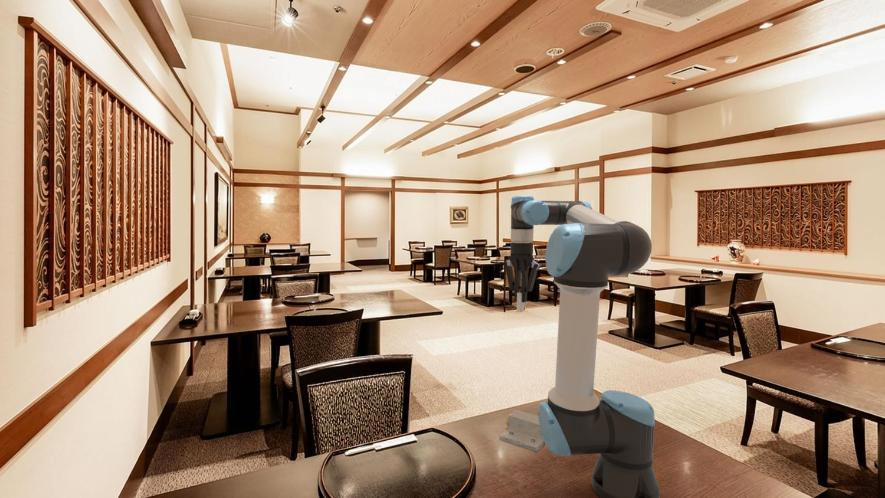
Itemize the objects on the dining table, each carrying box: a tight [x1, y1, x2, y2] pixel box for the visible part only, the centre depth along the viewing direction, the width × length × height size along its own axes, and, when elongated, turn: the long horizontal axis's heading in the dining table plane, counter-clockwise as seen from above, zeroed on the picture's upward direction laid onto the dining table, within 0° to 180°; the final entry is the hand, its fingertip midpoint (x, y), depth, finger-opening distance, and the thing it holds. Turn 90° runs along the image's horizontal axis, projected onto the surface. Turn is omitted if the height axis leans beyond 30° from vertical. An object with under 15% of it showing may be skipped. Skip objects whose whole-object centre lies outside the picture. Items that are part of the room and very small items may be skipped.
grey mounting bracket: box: [498, 409, 546, 453], centre depth 130 cm, size 12×17×5 cm
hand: (520, 311), depth 144 cm, fingers closed
